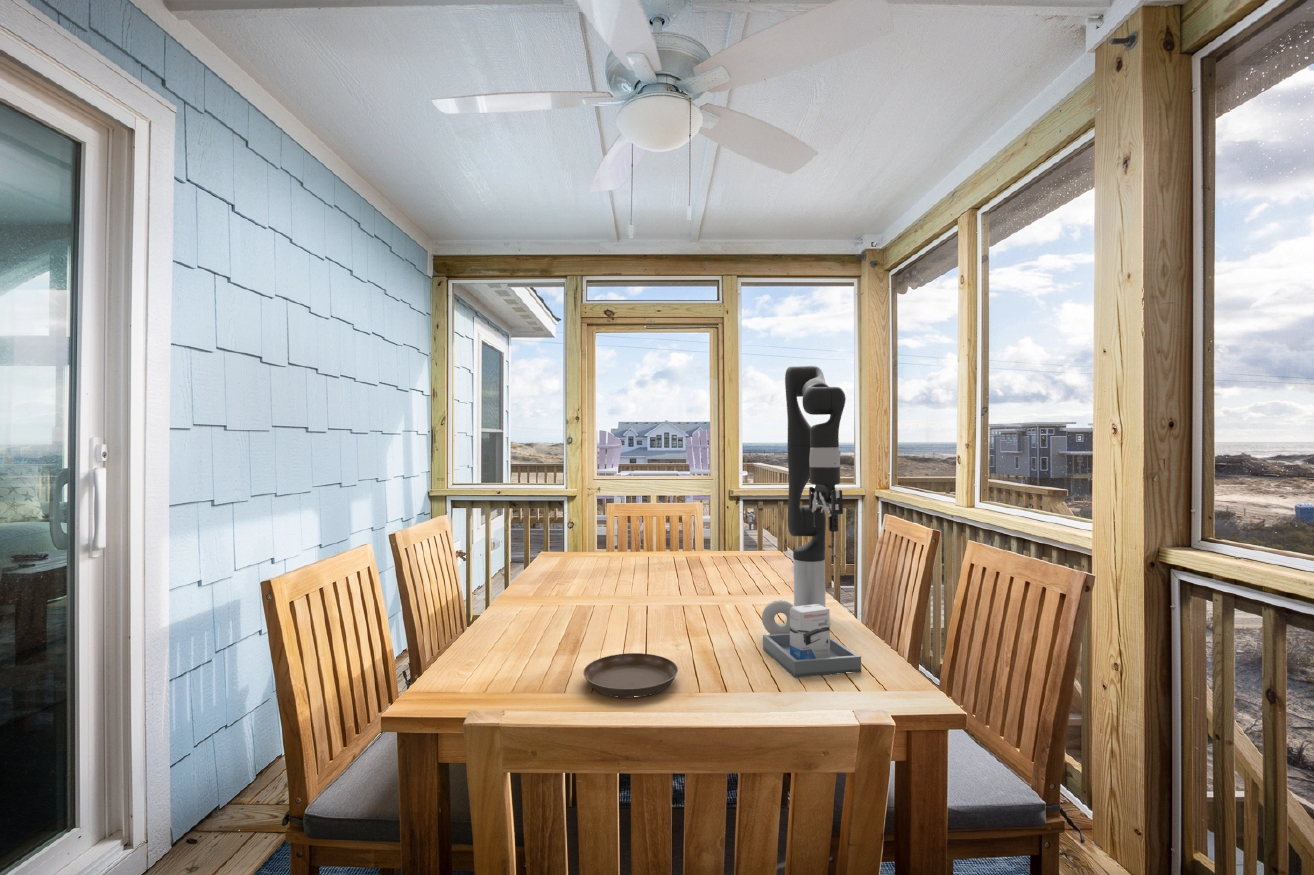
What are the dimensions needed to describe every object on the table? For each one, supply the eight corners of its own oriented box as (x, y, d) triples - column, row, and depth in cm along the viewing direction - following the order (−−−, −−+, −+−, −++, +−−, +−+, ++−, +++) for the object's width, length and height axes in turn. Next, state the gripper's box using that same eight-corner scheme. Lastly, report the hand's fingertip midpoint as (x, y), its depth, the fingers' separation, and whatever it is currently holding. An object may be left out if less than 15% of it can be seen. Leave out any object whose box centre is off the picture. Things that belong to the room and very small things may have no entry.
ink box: (801, 662, 146) (800, 611, 146) (789, 656, 151) (788, 607, 151) (831, 657, 150) (830, 607, 150) (818, 651, 154) (817, 603, 154)
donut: (762, 638, 167) (761, 601, 167) (761, 634, 171) (761, 598, 171) (800, 640, 166) (799, 602, 166) (799, 636, 169) (799, 599, 169)
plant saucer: (644, 711, 123) (644, 694, 123) (563, 690, 134) (563, 674, 134) (694, 677, 141) (694, 662, 141) (619, 661, 151) (619, 647, 152)
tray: (763, 648, 159) (762, 635, 159) (822, 644, 162) (821, 630, 162) (794, 677, 139) (794, 661, 139) (861, 672, 142) (861, 656, 142)
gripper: (852, 466, 153) (853, 532, 153) (825, 464, 167) (826, 525, 167) (823, 466, 152) (824, 533, 151) (799, 464, 166) (800, 526, 165)
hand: (825, 529), depth 159 cm, fingers open, 8 cm apart
